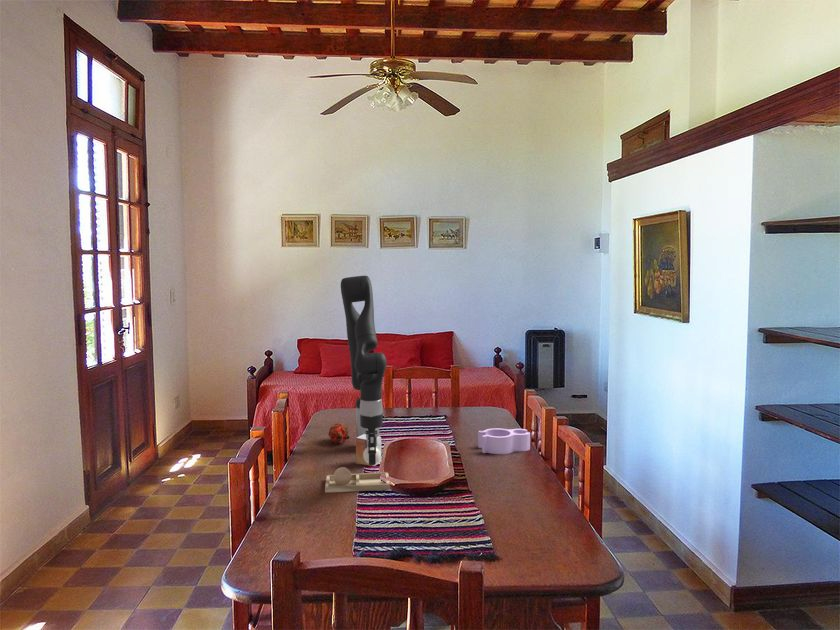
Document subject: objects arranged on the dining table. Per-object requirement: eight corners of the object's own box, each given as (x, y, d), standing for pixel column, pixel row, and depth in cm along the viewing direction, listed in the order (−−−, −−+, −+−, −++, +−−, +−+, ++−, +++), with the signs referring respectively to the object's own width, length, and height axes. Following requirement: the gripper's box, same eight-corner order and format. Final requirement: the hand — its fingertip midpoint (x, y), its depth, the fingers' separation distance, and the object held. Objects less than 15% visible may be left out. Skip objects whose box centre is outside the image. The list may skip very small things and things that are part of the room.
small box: (355, 465, 211) (355, 437, 210) (363, 460, 216) (363, 433, 215) (373, 468, 207) (373, 440, 206) (381, 463, 212) (381, 436, 211)
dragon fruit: (340, 440, 245) (341, 453, 233) (324, 431, 242) (324, 443, 231) (351, 425, 244) (353, 437, 232) (335, 415, 242) (336, 427, 230)
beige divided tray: (327, 482, 194) (327, 475, 194) (388, 479, 197) (388, 472, 196) (325, 494, 183) (325, 487, 183) (389, 491, 186) (389, 484, 185)
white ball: (363, 461, 192) (362, 443, 192) (380, 460, 193) (380, 443, 193) (363, 467, 186) (362, 449, 186) (381, 466, 187) (381, 448, 187)
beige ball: (334, 482, 192) (333, 465, 192) (351, 481, 193) (351, 464, 192) (333, 489, 186) (332, 471, 186) (351, 488, 187) (351, 470, 186)
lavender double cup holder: (523, 443, 235) (523, 426, 235) (533, 453, 223) (533, 435, 222) (476, 445, 233) (476, 429, 232) (484, 455, 220) (484, 438, 220)
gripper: (360, 407, 195) (360, 454, 196) (359, 418, 181) (360, 469, 182) (381, 406, 196) (382, 453, 197) (383, 417, 181) (384, 468, 183)
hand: (372, 461), depth 190 cm, fingers closed on white ball, 6 cm apart
